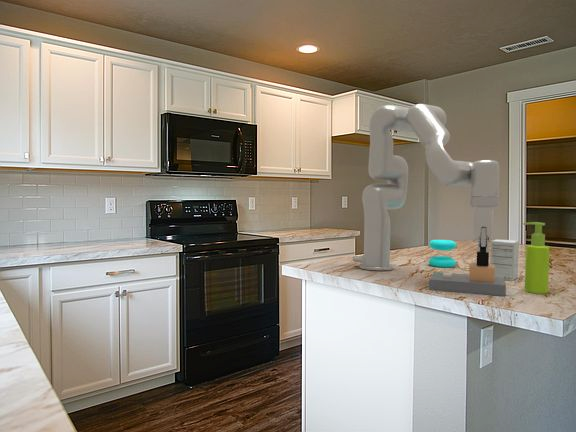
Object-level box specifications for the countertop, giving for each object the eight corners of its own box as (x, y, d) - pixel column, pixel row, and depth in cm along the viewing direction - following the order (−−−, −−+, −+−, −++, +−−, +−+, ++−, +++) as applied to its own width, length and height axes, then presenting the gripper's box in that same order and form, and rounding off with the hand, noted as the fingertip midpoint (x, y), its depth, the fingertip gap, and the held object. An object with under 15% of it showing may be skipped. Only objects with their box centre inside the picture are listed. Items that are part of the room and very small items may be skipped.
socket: (429, 289, 129) (429, 276, 129) (433, 281, 142) (434, 269, 142) (505, 296, 121) (506, 282, 121) (503, 286, 134) (503, 274, 134)
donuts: (424, 240, 174) (436, 238, 181) (424, 265, 174) (435, 263, 181) (449, 242, 166) (460, 240, 174) (448, 268, 167) (460, 266, 174)
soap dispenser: (524, 288, 133) (527, 221, 132) (550, 291, 128) (553, 222, 127) (517, 290, 128) (520, 222, 128) (544, 294, 124) (547, 223, 123)
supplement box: (495, 275, 154) (496, 239, 154) (518, 277, 150) (519, 240, 149) (488, 278, 149) (490, 240, 148) (513, 280, 144) (514, 242, 143)
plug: (468, 289, 128) (469, 266, 128) (469, 285, 134) (470, 263, 134) (494, 291, 126) (494, 268, 125) (493, 287, 132) (494, 264, 131)
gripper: (470, 202, 137) (469, 261, 138) (469, 203, 123) (468, 268, 124) (497, 203, 134) (495, 263, 135) (499, 203, 120) (497, 270, 121)
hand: (482, 265), depth 130 cm, fingers closed
